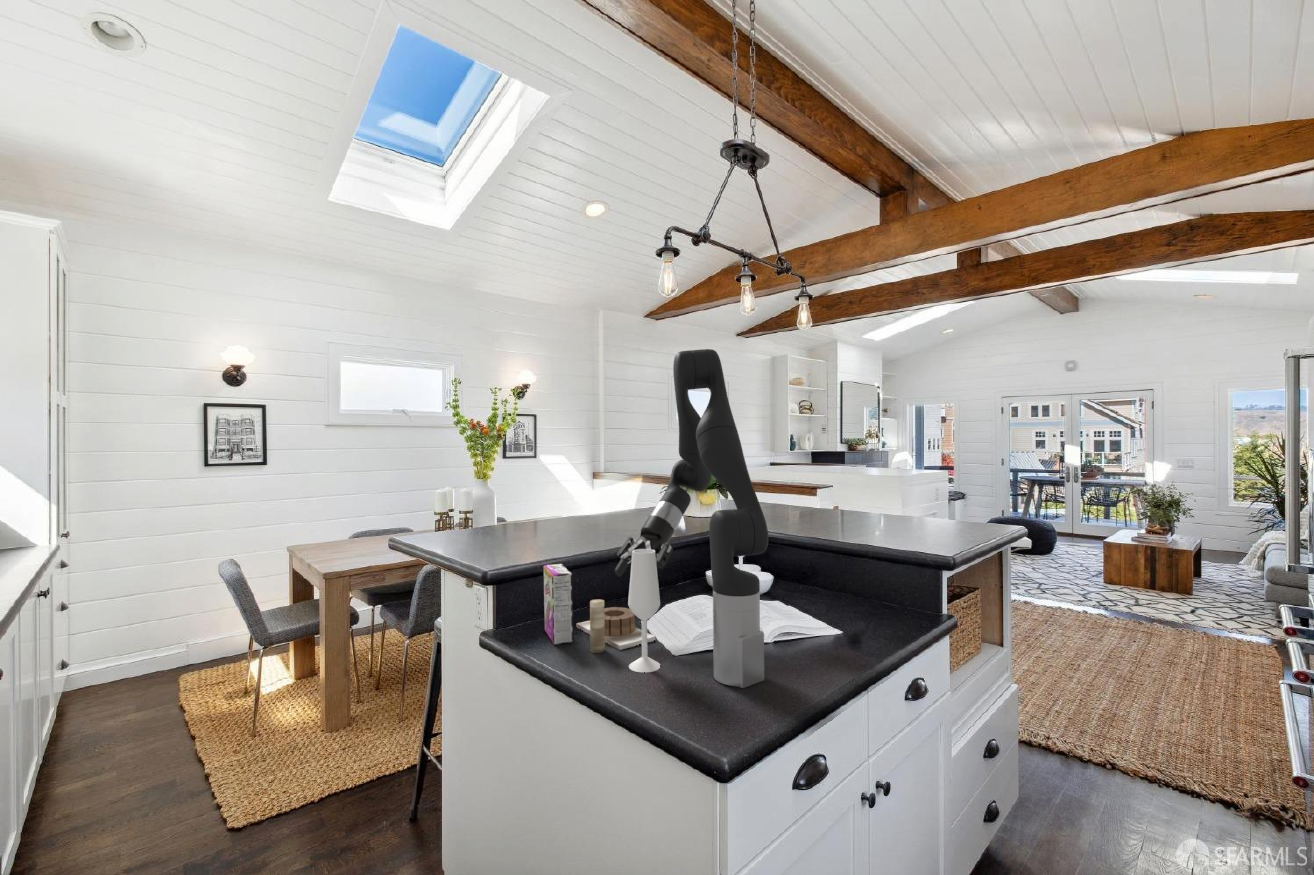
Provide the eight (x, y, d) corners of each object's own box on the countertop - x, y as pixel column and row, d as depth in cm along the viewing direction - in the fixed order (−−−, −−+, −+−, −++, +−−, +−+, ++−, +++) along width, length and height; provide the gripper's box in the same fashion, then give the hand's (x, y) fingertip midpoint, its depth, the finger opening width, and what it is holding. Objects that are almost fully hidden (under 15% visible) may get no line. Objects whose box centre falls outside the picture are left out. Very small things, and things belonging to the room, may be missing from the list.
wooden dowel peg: (607, 650, 131) (607, 601, 131) (595, 653, 129) (594, 604, 129) (600, 646, 133) (599, 598, 133) (587, 649, 131) (587, 601, 132)
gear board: (655, 640, 137) (655, 619, 137) (619, 649, 131) (619, 627, 131) (609, 619, 153) (609, 600, 153) (576, 627, 147) (576, 607, 147)
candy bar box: (543, 631, 145) (542, 564, 145) (563, 628, 147) (562, 563, 147) (552, 645, 134) (551, 574, 134) (573, 642, 136) (573, 572, 136)
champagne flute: (666, 663, 123) (665, 549, 123) (649, 675, 117) (648, 555, 117) (640, 657, 126) (639, 547, 126) (622, 668, 121) (621, 552, 121)
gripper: (634, 511, 150) (601, 563, 142) (676, 516, 140) (643, 572, 132) (649, 530, 154) (617, 581, 145) (690, 535, 144) (659, 591, 136)
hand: (629, 577), depth 139 cm, fingers open, 8 cm apart
